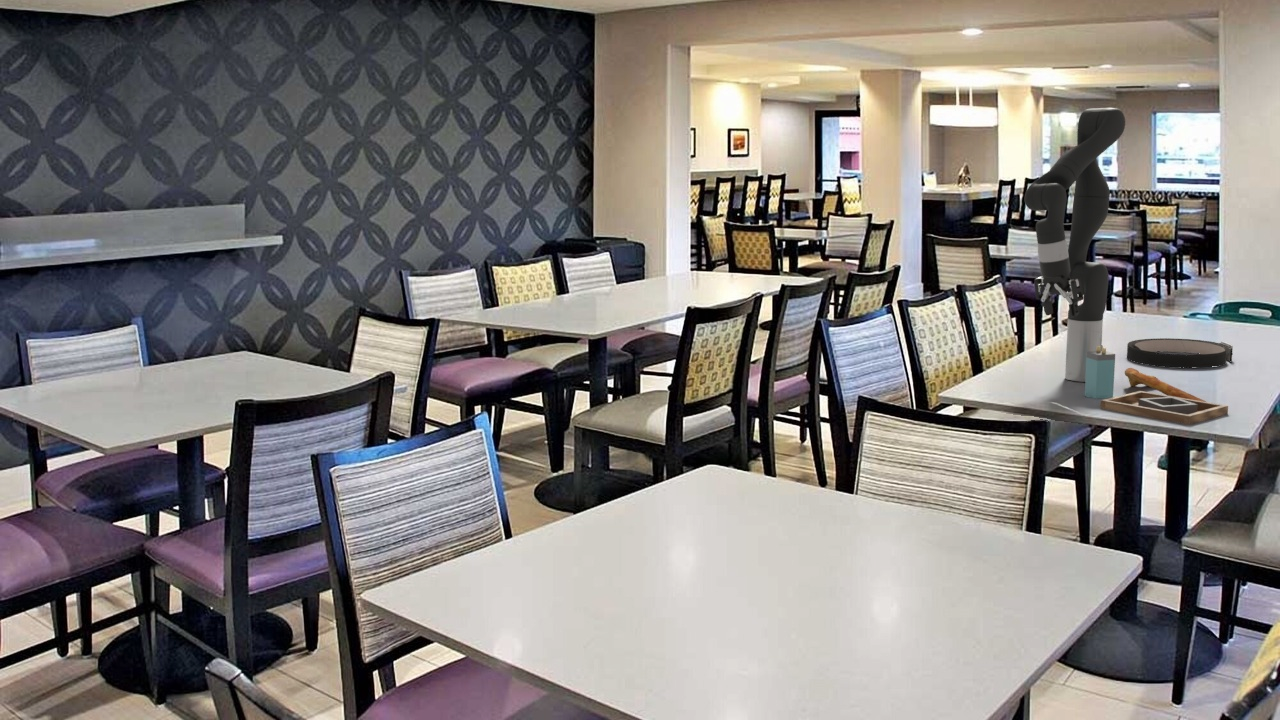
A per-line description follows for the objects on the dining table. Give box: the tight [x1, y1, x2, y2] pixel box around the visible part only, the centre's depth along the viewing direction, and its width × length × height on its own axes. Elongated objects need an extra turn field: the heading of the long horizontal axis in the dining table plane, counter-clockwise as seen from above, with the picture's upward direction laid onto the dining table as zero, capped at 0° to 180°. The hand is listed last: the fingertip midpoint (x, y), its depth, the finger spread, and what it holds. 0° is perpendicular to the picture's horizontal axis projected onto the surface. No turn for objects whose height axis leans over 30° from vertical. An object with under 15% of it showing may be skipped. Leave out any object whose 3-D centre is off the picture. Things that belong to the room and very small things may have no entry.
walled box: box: [1100, 390, 1229, 426], centre depth 282 cm, size 17×23×2 cm
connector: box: [1084, 346, 1116, 400], centre depth 299 cm, size 5×5×14 cm
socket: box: [1138, 397, 1198, 415], centre depth 281 cm, size 10×10×2 cm
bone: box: [1124, 367, 1207, 402], centre depth 299 cm, size 33×8×10 cm, turn 2°
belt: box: [1126, 337, 1234, 369], centre depth 350 cm, size 29×30×5 cm
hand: (1061, 315), depth 309 cm, fingers open, 8 cm apart
